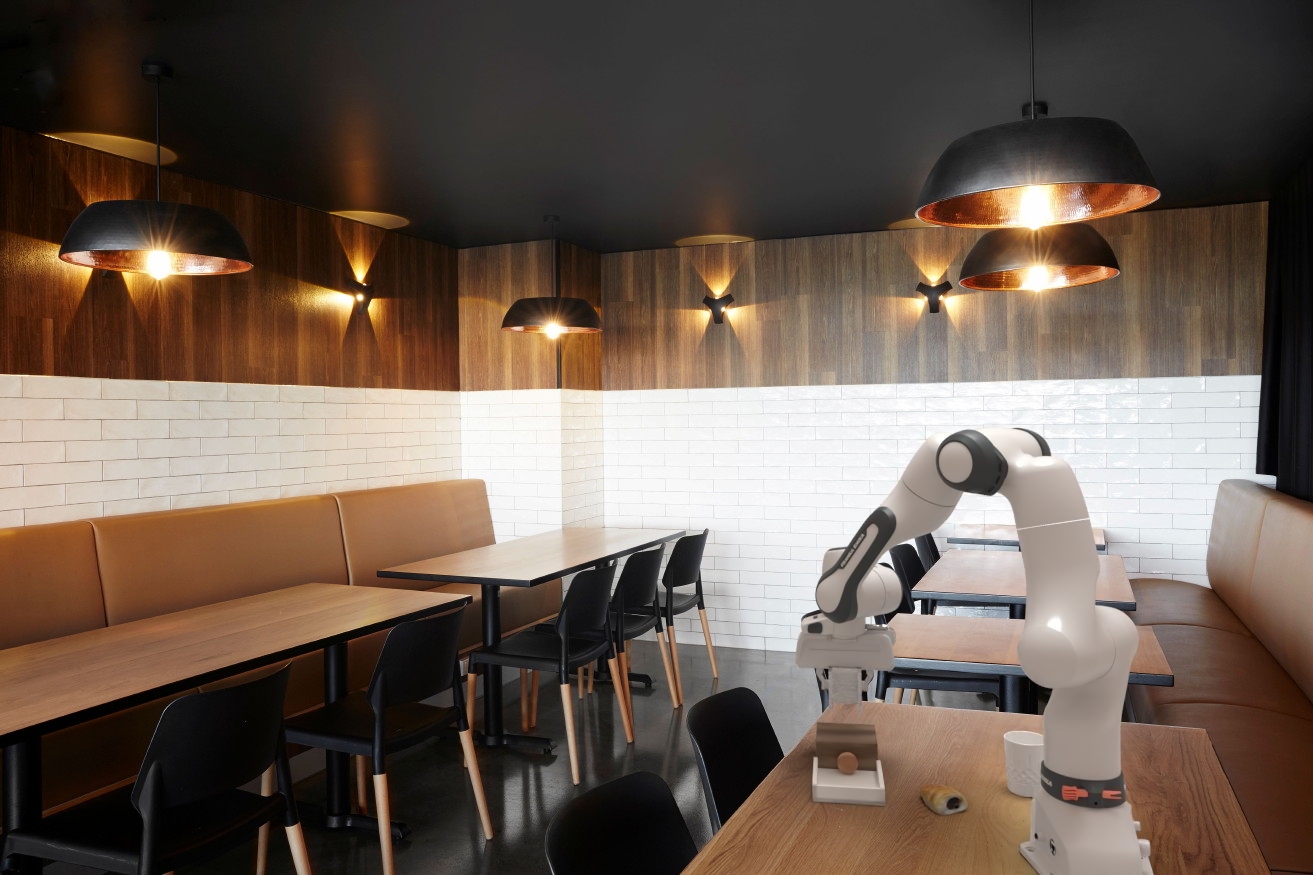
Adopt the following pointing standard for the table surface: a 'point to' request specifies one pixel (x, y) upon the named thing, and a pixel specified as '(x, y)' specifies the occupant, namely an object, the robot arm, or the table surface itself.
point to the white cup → (1023, 762)
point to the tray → (848, 786)
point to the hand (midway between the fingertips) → (844, 689)
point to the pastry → (943, 799)
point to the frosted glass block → (845, 686)
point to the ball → (847, 762)
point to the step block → (846, 744)
